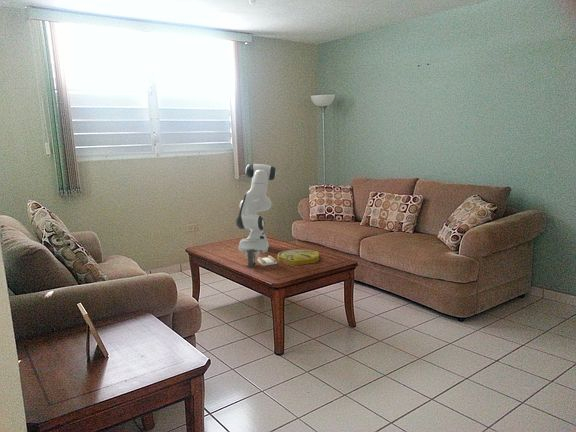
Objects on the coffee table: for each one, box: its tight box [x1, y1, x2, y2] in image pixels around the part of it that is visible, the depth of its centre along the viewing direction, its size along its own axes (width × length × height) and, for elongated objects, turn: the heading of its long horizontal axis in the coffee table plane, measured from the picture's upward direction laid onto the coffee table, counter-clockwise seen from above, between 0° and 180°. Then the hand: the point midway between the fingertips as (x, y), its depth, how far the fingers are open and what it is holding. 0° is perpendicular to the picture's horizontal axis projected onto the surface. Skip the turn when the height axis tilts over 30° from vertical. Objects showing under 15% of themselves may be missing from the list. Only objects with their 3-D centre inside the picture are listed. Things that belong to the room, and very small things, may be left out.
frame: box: [246, 249, 257, 268], centre depth 293 cm, size 6×4×11 cm
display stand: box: [256, 255, 278, 266], centre depth 301 cm, size 13×10×3 cm
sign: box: [277, 249, 320, 266], centre depth 308 cm, size 28×3×30 cm
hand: (251, 256), depth 292 cm, fingers open, 5 cm apart
